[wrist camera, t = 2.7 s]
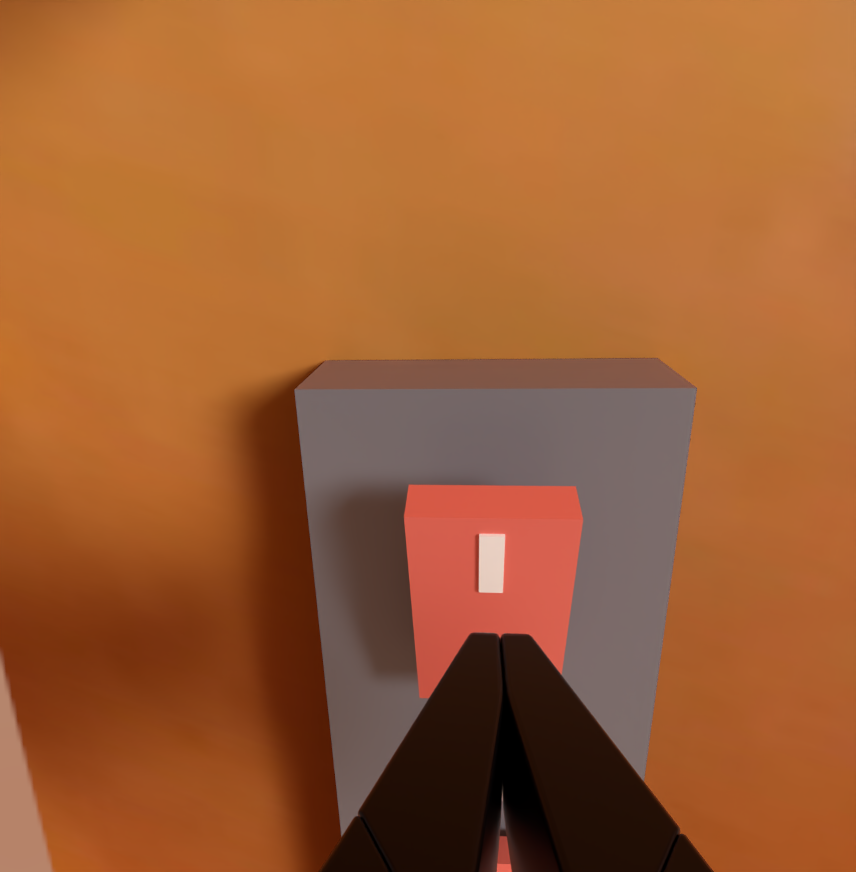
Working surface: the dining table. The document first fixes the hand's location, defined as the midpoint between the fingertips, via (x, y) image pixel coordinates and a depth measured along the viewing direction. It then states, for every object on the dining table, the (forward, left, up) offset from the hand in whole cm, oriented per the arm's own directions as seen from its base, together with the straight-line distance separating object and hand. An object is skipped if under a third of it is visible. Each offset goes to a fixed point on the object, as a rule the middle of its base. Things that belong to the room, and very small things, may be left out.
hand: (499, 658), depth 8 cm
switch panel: (-10, 0, -9) cm, 14 cm away
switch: (-2, 0, -5) cm, 5 cm away
